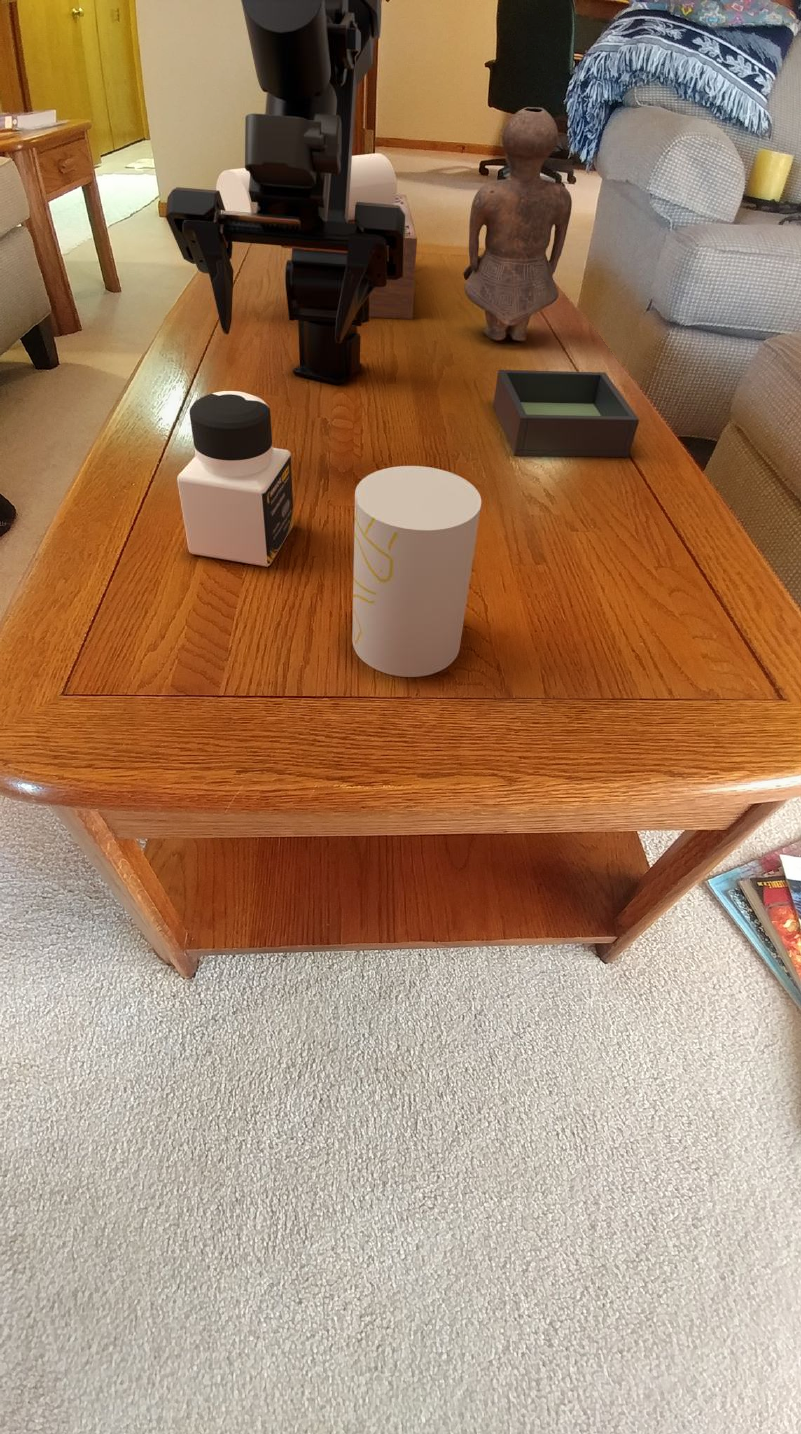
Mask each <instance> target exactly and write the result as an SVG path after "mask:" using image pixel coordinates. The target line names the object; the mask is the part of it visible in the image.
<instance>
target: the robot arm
mask: <svg viewBox="0 0 801 1434" xmlns="http://www.w3.org/2000/svg"><path fill="white" fill-rule="evenodd" d="M240 2H241V5H242V6H241V7H242V10H243V15H244V20H245V26H246V30H247V35H248V40H249V44H250V45H249V46H250V50H251V55H252V60H253V64H254V69H255V74H256V79H257V82H258V85H259V87H260V89H261V91H262V92H263V93H266V97H265V110H264V113H256V112H255V113H248V114H247V115H245V117H244V119H245V124H244V126H245V127H244V168H245V169H246V171H249V173H250V180H249V195H250V198H251V202H257V209H256V213H248V212H236V211H226V210H225V207H224V204H223V201H222V198H221V195H220V191H218V190H216V189H206V188H205V189H203V188H192V187H191V188H190V187H181V186H180V187H178V186H176V187H175V188H173V189H172V190H171V191H170V193H168V196H167V199H166V207H165V208H166V210H165V220H166V221H167V224H168V226H169V228H170V231H171V233H172V235H173V238H174V241H175V242H176V244H177V248H178V249H179V251H180V254H181V256H182V259H183V260H185V261H187V262H188V263H190V264H191V265H192V264H193V265H195V266H196V268H197V270H198V271H199V272H200V273H202V274H206V275H207V274H208V275H209V280H210V284H211V288H212V293H213V298H214V302H215V306H216V310H217V311H216V312H217V315H218V319H219V323H220V328H221V330H222V333H223V335H229V334H230V331H231V325H232V321H233V320H232V319H233V298H234V297H233V294H234V272H235V271H234V268H233V264H232V262H231V259H232V258H233V247H234V246H233V243H243V244H255V245H267V246H268V245H269V246H278V247H279V246H280V247H281V248H283V249H291V259H287V260H286V264H285V271H284V273H285V274H284V278H285V279H284V280H285V282H284V283H285V293H286V302H287V311H288V313H287V314H288V320H289V321H290V322H294V321H297V327H298V354H299V356H298V357H299V364H298V365H296V367H294V368H292V373H293V374H294V375H295V376H300V377H304V378H309V379H312V380H316V381H320V382H321V381H322V382H326V383H329V384H334V385H342V384H343V383H345V382H346V381H347V380H349V379H350V378H352V377H353V376H354V375H356V374H357V373H359V371H361V370H362V369H363V363H361V338H362V337H361V334H360V333H359V332H358V327H362V325H363V324H365V323H368V322H370V317H369V295H370V294H371V292H372V291H373V290H374V288H376V287H380V288H382V287H385V286H386V284H387V280H398V279H399V278H401V277H403V267H404V253H405V213H404V212H403V210H402V209H401V207H400V206H399V205H390V204H378V203H365V202H357V203H356V205H355V216H354V219H355V223H348V211H349V195H350V179H351V164H352V156H353V148H354V147H353V145H354V133H355V132H354V130H355V129H354V128H355V116H356V115H355V113H356V100H357V99H356V97H357V88H358V86H359V85H360V83H361V82H362V80H363V79H364V77H365V76H366V75H367V73H368V71H370V69H371V68H372V66H373V58H374V46H375V39H377V40H378V39H380V38H381V31H382V30H381V29H382V0H240Z"/></svg>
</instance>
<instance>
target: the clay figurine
mask: <svg viewBox="0 0 801 1434" xmlns="http://www.w3.org/2000/svg"><path fill="white" fill-rule="evenodd" d="M558 130H559V129H558V126H557V123H556V121H555V119H554V118H553V116H552V115H551V114H550V113H549V112H548V111H547V110H546V109H545V108H543V107H533V106H527V107H524V108H522V109H520V110H518V111H516V112H515V113H513V115H512V116H511V117H510V118H509V120H508V121H507V123H506V124H505V125H504V127H503V130H502V134H501V144H502V148H503V151H504V155H505V156H504V157H505V163H506V166H508V168H509V176H508V177H507V178H504V179H496V180H491V181H488V182H486V183H485V184H483V185H482V186H480V188H479V189H478V190H477V191H476V193H475V195H474V197H473V200H472V203H471V206H470V207H471V208H470V215H469V224H468V226H469V228H468V253H469V255H468V256H469V264H468V265H467V266H466V268H465V269H464V270H463V273H462V275H463V278H464V280H465V284H464V292H465V296H466V298H468V300H469V301H470V302H471V303H472V304H474V305H475V306H477V307H478V308H480V309H481V310H483V311H484V315H485V321H486V327H484V328H483V329H482V333H483V334H484V335H485V336H486V337H488V339H490V340H492V341H502V340H505V339H506V335H507V334H508V335H510V337H511V340H513V341H516V342H524V341H526V339H527V329H528V325H529V322H530V319H531V317H532V316H533V315H535V314H537V313H538V312H540V311H542V310H544V309H545V308H547V307H549V306H550V305H552V304H553V303H555V302H556V301H557V299H558V298H559V290H558V287H557V284H556V283H555V280H554V276H553V275H554V274H555V272H556V270H557V266H558V263H559V260H560V257H561V256H562V252H563V248H564V245H565V241H566V237H567V234H568V233H567V232H568V229H569V223H570V219H571V214H572V208H573V205H572V204H573V200H572V199H573V198H572V195H571V193H570V191H569V190H568V189H567V188H566V187H565V186H564V185H562V184H560V183H558V182H554V181H550V180H546V179H543V178H542V177H541V171H542V168H543V166H544V163H545V161H546V160H547V159H548V158H549V156H550V155H552V153H553V152H554V151H555V149H556V147H557V146H558V143H559V131H558ZM483 226H485V230H486V231H485V238H484V251H483V252H482V253H480V255H479V252H480V251H479V250H480V234H481V230H482V228H483ZM553 227H554V233H553V243H552V246H551V250H550V251H551V252H550V256H549V259H548V256H547V250H548V247H549V246H550V242H551V239H552V237H551V236H552V230H553Z"/></svg>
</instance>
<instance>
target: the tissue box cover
mask: <svg viewBox="0 0 801 1434" xmlns="http://www.w3.org/2000/svg"><path fill="white" fill-rule="evenodd" d="M394 205H399V206H400V207H401V209H402V210H403V212H404V213H405V253H404V267H403V277H401V278H399V279H398V280H387V284H386V286H385V287H382V288H380V287H376V288H374V290H373V291H372V292H371V294H370V295H369V318H383V319H402V320H403V319H407V320H412V319H413V313H414V312H413V311H414V295H415V277H416V265H417V264H416V263H417V246H418V236H417V233H416V229H415V224H414V221H413V217H412V213H411V209H410V205H409V202H408V197H407V194H398V193H397V194H396V199H395V202H394ZM348 223H355V220H350V221H348Z"/></svg>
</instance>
